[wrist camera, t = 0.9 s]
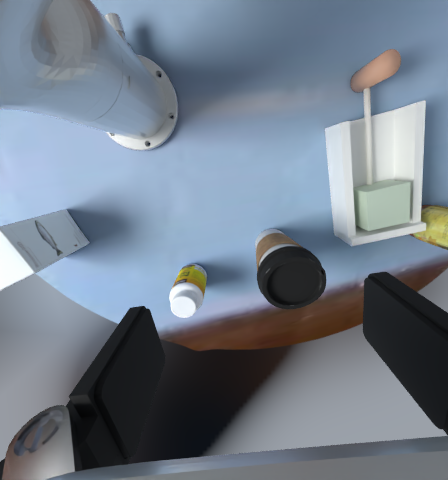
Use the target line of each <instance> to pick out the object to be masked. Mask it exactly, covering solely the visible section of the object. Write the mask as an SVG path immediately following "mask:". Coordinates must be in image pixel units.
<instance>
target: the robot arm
mask: <svg viewBox="0 0 448 480" xmlns="http://www.w3.org/2000/svg"><path fill="white" fill-rule="evenodd" d="M159 75H162V76H161V77H160V78H159ZM0 110H19V111H27V112H32V113H37V114H42V115H46V116H50V117H54V118H58V119H62V120H65V121H69V122H72V123H76V124H79V125H83V126H87V127H90V128H94V129H98V130H101V131H105V132H106V133H107V134H108V135H109V136H110V138H111V139H113V140H114V141H115V142H117V143H118V144H120V145H122V146H124V147H126V148H129V149H132V150H138V151H146V150H151V149H154V148H156V147H158V146H160V145H162V144H163V143H164V142H166V140H167V139H168V138H169V137H170V136H171V134H172V132H173V130H174V129H175V126H176V123H177V118H178V101H177V95H176V92H175V90H174V87H173V85H172V83H171V81H170V79H169V78H168V76H167V75H166V73H165V72H164V71H163V70H162V69H161V68H160V67H159V66H158V65H157V64H156V63H155V62H153V61H152V60H150V59H148V58H146V57H144V56H142V55H137V54H135V53H134V52H133V51H132V48H131V45H130V44H128V43H127V42H126V39H125V33H124V29H123V26H122V23H121V20H120V17H119V16H118V15H117V14H115V13H109V14H107V15H105V17H104V16H103V15H102V14H101V12H100V11H99V10H98V9H97V8H96V7H95V5H94V4H93V3H92V2H91V1H90V0H0ZM171 116H174V118H173V119H171ZM114 134H115V135H114ZM148 143H150V144H151V145H150V146H149V145H148ZM363 333H364V336H365V338H366V339H367V341H368V342H369V343H370V345H371V346H372V347H373V348H374V349H375V351H376V352H377V353H378V355H379V356H380V357H381V358H382V360H383V361H384V362H385V363H386V364H387V366H388V367H389V368H390V370H391V371H392V372H393V373H394V375H395V376H396V377H397V378H398V380H399V381H400V382H401V384H402V385H403V386H404V387H405V389H406V390H407V391H408V392H409V394H410V395H411V396H412V397H413V399H414V400H415V401H416V402H417V404H418V405H419V406H420V407H421V408H422V410H423V411H424V412H425V414H426V415H427V416H428V417H429V419H430V420H431V421H432V422H433V423H434V425H435V426H436V427H438V428H439V429H443V430H444V431H445V432H446V434H447V435H448V313H447V312H446V311H444V310H443V309H441V308H440V307H438V306H437V305H435V304H434V303H432V302H431V301H429V300H428V299H426V298H425V297H423V296H421V295H420V294H418V293H417V292H416V291H414V290H413V289H411V288H410V287H408V286H407V285H405V284H404V283H402V282H401V281H399V280H398V279H396V278H395V277H393V276H392V275H390V274H389V273H387V272H380V273H372V274H369V276H368V278H366V279H365V281H364V311H363ZM164 364H165V354H164V351H163V348H162V345H161V342H160V339H159V336H158V333H157V330H156V327H155V324H154V321H153V318H152V315H151V312H150V310H149V309H146V308H145V306H140V307H133V308H130V309H129V310H128V312H127V313H126V315H125V316H124V317H123V319H122V320H121V322H120V323H119V325H118V326H117V328H116V329H115V331H114V332H113V333H112V335H111V336H110V338H109V339H108V341H107V342H106V343H105V345H104V346H103V348H102V349H101V351H100V352H99V354H98V355H97V356H96V358H95V360H94V361H93V362H92V364H91V365H90V367H89V368H88V369H87V371H86V372H85V374H84V375H83V377H82V378H81V380H80V381H79V383H78V384H77V385H76V387H75V388H74V390H73V391H72V393H71V394H70V395H69V398H70V401H69V402H68V404H67V405H66V406H64V405H56V406H53V407H49V408H47V409H45V410H43V411H42V412H40V413H38V414H37V415H36V416H34V417H33V418H31V419H30V420H29V421H28V422H27V423H26V424H25V425H24V426H23V427H22V428H21V429H20V430H19V431H18V432H17V434H16V435H15V436H14V438H13V439H12V441H11V443H10V444H9V446H8V450H7V452H6V457H5V459H3V460H2V461H1V462H0V480H448V436H442V437H429V438H417V439H404V440H392V441H379V442H368V443H355V444H343V445H331V446H320V447H308V448H297V449H285V450H274V451H262V452H251V453H239V454H229V455H219V456H207V457H196V458H187V459H176V460H165V461H154V462H144V463H135V464H128V463H129V460H130V457H133V456H134V455H135V453H136V451H137V448H138V444H139V442H140V438H141V435H142V432H143V429H144V426H145V423H146V420H147V417H148V414H149V411H150V407H151V404H152V401H153V398H154V395H155V392H156V389H157V386H158V382H159V379H160V376H161V373H162V370H163V367H164Z"/></svg>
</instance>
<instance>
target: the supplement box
mask: <svg viewBox="0 0 448 480" xmlns="http://www.w3.org/2000/svg"><path fill="white" fill-rule="evenodd" d="M89 243H90V242H89V241H88V240H87V238H86V237H85V236H84V234H83V233H82V232H81V230H80V229H79V227H78V226H77V225H76V223H75V222H74V220H73V219H72V217H71V216H70V214H69V213H68V211H67V210H66V209H64V210H60V211H57V212H53V213H50V214H46V215H42V216H39V217H35V218H31V219H27V220H23V221H19V222H16V223H12V224H8V225H4V226H0V291H1V290H3V289H5V288H7V287H9V286H12V285H14V284H16V283H18V282H19V281H22V280H23V279H26V278H27V277H29V276H31V275H33V274H35V273H37V272H39V271H40V270H42V269H44V268H46V267H48V266H49V265H51V264H53V263H55V262H57V261H59V260H60V259H62V258H64V257H66V256H68V255H69V254H71V253H73V252H75V251H77V250H79V249H80V248H82V247H84V246H86V245H87V244H89Z"/></svg>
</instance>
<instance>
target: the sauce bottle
mask: <svg viewBox="0 0 448 480" xmlns="http://www.w3.org/2000/svg"><path fill="white" fill-rule="evenodd" d="M421 222H424V223H426V231H421V232H416V233H412V234H410V235H411V236H413V237H416V238H417V239H419V240H421V241H424V242H427V243H430V244H432V245H435V246H438V247H441V248H443V249H446V250H448V207H444V206H438V205H434V206H433V205H423V206H421Z"/></svg>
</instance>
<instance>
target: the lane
mask: <svg viewBox="0 0 448 480" xmlns="http://www.w3.org/2000/svg"><path fill="white" fill-rule="evenodd" d="M425 108H426V100H424V101H421V102H417V103H414V104H411V105H408V106H404V107H401V108H398V109H395V110H392V111H388V112H384V113H381V114H377V115H373V116H371V134H372V169H373V183H374V182H379V181H383V180H395V181H406V182H411V183H410V222H407V223H403V224H398V225H394V226H389V227H384V228H380V229H375V230H371V231H367V230H365V229H363V228H361V227H359V226H356V225H355V212H354V195H353V187H358V186H362V185H366V184H367V172H366V145H365V118H362V119H358V120H354V121H351V122H349V121H346V122H342V123H339V124H336V125H333V126H331V127H328V128H325V138H326V149H327V160H328V171H329V182H330V193H331V204H332V215H333V227H334V235H335V236H337V237H338V238H340V239H341V240H343V241H344V242H346V243H348V244H349V245H351V246H356V245H361V244H365V243H370V242H375V241H379V240H384V239H388V238H393V237H398V236H402V235H407V234H412V233H416V232H421V231H426V223H424V222H421V202H422V179H423V155H424V132H425Z"/></svg>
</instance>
